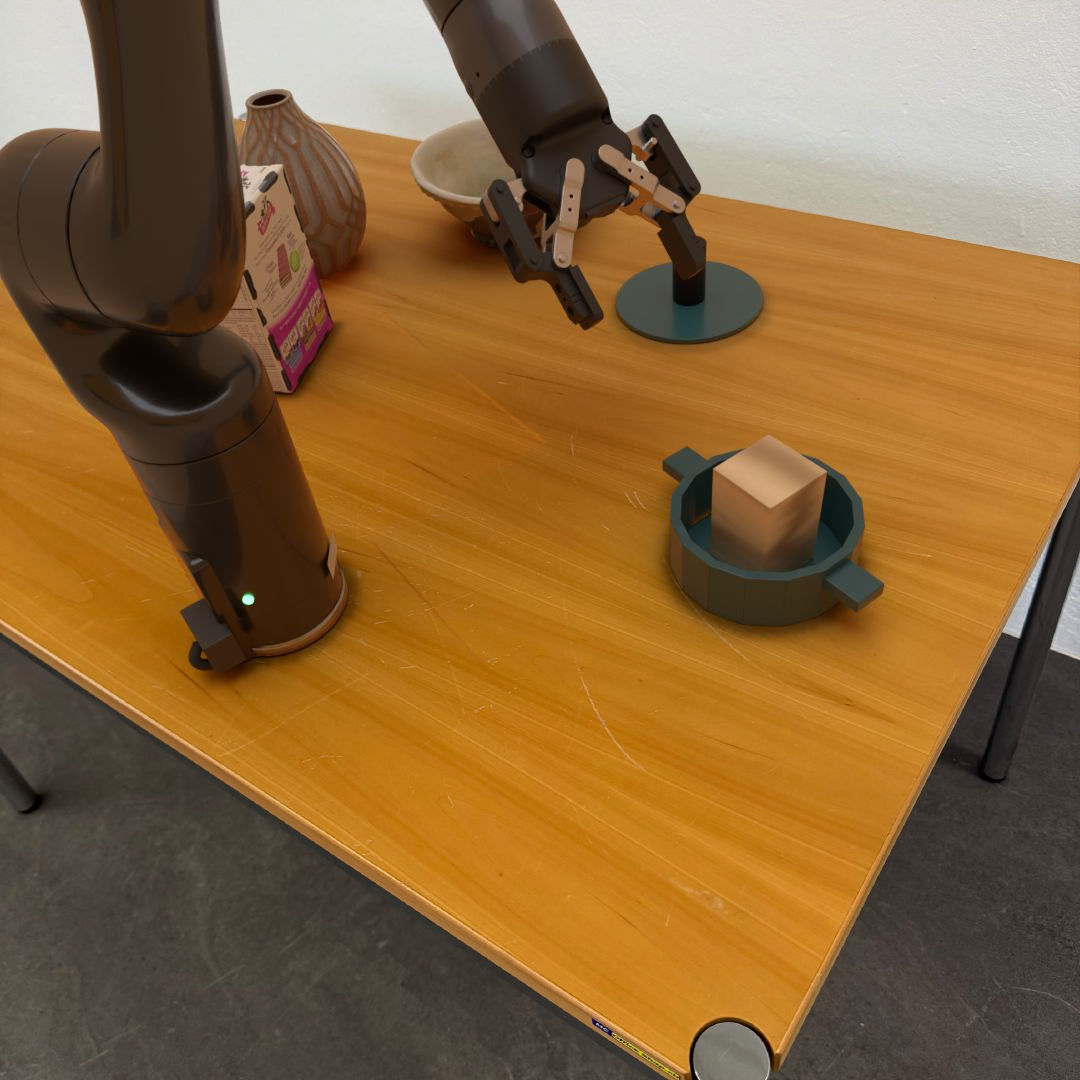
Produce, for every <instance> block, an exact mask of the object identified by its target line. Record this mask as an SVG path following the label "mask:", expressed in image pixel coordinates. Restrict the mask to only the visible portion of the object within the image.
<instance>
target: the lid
mask: <svg viewBox="0 0 1080 1080" xmlns="http://www.w3.org/2000/svg"><path fill="white" fill-rule="evenodd" d="M696 237H697V238H698V240H699V242H700V243H701V245H702V247H703V249H704V254H705V258H704V259H703V260H704V263H705V266H704V268H703V269H702V270H701V271H700V272H698V273H697V274H696V275H694V276H692V277H691V278H689V279H687V280H683V279H682V278H681V277H680V276H679V274H678V272H677V270H676V268H675V266H674V265H673V263H672V261H669V262H664V263H660V264H656V265H653V266H651V267H647V268H645V269H643V270H641V271H639V272H637V273H635V274H633V276H631V277H630V278H628V280H626V281H625V282H624V283H622V285H621V287H620V288H619V290H618V291H617V294H616V298H615V308H616V309H615V310H616V313H617V316H618V318H619V319H620V321H621V322H622V323H623V324H624V326H626V328H628V329H630V330H631V331H632V332H634V333H636V334H638V335H640V336H642V337H644V338H647V339H650V340H654V341H656V342H657V341H658V342H662V343H668V344H677V345H678V344H679V345H680V344H681V345H689V344H693V345H694V344H701V343H709V342H715V341H719V340H723V339H726V338H728V337H730V336H733V335H736V334H737V333H740V332H741V331H743V330H744V329H746V328H747V327H749V326H750V325H751V324H753V323H754V321H756V319H757V318H759V315H760V313H761V311H762V308H763V304H764V293H763V290H762V287H761V285H760V284H759V283H758V281H757V280H756V279H755V278H754V277H753V276H751V275H750V274H749V273H748V272H745V271H743V270H742V269H740V268H738V267H735V266H734V265H733V266H732V265H730V264H727V263H722V262H719V261H711V260H707V245H708V243H707V241H706V240H707V239H705V238H704V237H703V236H700V235H696Z"/></svg>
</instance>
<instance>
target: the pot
mask: <svg viewBox="0 0 1080 1080" xmlns="http://www.w3.org/2000/svg"><path fill="white" fill-rule="evenodd" d="M746 448H747V447H745V448H739V449H737V450H732V451H729V452H728V451H727V452H724V453H719V454H715V455H713V456H711V457H710V458H708V459H707V458H705V457H704V456H703V455H701V454H699V453H698V452H697V451H696V450H694V449H692V448H691V447H689V446H688V445H686V446H684V447H682V448H681V449H679V450H678V451H675V452H674V453H672V454H670V455H669V456H667V457H666V458H664V459H662V471H663V472H664V473H665V474H667V475H668V476H670V477H671V478H672V479H674V480H675V481H676V482H677V483H678V485H677V486H676V488H675V489H674V490H673V492H672V493H671V499H670V500H671V501H670V511H669V565H670V567H671V570H672V572H673V574H674V577H675V579H676V581H677V583H678V584H679V586H680V589H681V590H682V591H683V592H684V594H686V595H687V596H688V597H689V598H690V599H692V601H693V602H695V603H696V604H697V605H699V606H700V607H701V608H703V609H704V610H705V611H706V612H709V613H711V614H713V615H715V616H718V617H720V618H722V619H724V620H728V621H731V622H734V623H738V624H741V625H747V626H755V627H756V626H757V627H785V626H789V625H794V624H800V623H802V622H806V621H809V620H811V619H815V618H818V617H819V616H821V615H823V614H824V613H825V612H827V611H829V610H830V609H831V608H833V606H835V605H836V604H837V603H839V602H840V603H842V604H843V605H845V606H846V607H848V609H850V610H852V611H853V612H854V613H856V614H857V613H859V612H860V611H861V610H863V609H864V608H866V607H867V606H869V604H871V603H872V602H873V601H875V600H876V599H878V598H880V596H882V595H883V593H884V589H885V583H884V582H883V581H881V580H880V579H879V578H877V577H876V576H875V575H873V574H872V573H870V572H869V571H867V570H866V569H864V568H863V567H861V566H860V565H859V558H860V554H861V549H862V544H863V539H864V534H865V531H866V530H865V529H866V522H865V521H866V520H865V512H864V504H863V499H862V498H861V496H860V495H859V494H858V492H857V491H856V489H855V488H854V486H853V485H852V484H851V482H850V481H849V479H848V478H847V477H846V476H845V474H842V473H841V472H839V471H838V470H836V469H835V468H833V467H831V466H829V465H828V464H827V463H825V462H823V461H822V460H821V459H819V458H816V457H813V456H809V455H806V454H802V453H800V454H801V455H802V456H804V457H805V458H807V459H808V460H810V461H812V462H813V463H815V464H816V465H818V466H819V467H821V468H822V469H824V470H826V471H827V475H826V481H825V488H824V494H823V500H822V507H821V513H820V520H819V526H818V533H817V539H816V545H815V552H814V558H813V559H811V560H810V561H808V562H807V563H806V564H804V565H803V566H801V567H800V568H798V569H796V570H793V571H789V572H766V571H747V570H744V569H741V568H738V567H735V566H733V565H730V564H727V563H724V562H721V561H719V560H717V559H716V558H715V557H713V556H712V555H711V554H710V536H711V513H709V512H711V511H712V487H713V468H715V467H716V466H718V465H720V464H721V463H723V462H725V461H726V460H728V459H729V458H731V457H733V456H734V455H736V454H738V453H739V452H741V451H742V450H744V449H746ZM707 513H709V514H708V515H706V514H707ZM705 515H706V516H705ZM702 516H704V517H703V518H701V517H702ZM700 518H701V519H700ZM698 519H700V520H699V521H697V522H695V521H696V520H698ZM694 522H695V523H694Z"/></svg>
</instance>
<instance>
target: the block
mask: <svg viewBox="0 0 1080 1080" xmlns="http://www.w3.org/2000/svg"><path fill="white" fill-rule="evenodd" d="M745 448H746V449H744V448H743V449H744V450H742V451H741V452H739V453H738V454H736V455H734V456H733V457H731V458H729V459H728V460H726V461H725V462H723V463H721V464H720V465H718V466H716V467H715V468H713V487H712V510H710V514H711V536H710V554H711V555H712V556H713V557H715V558H716V559H717V560H719V561H721V562H724V563H727V564H730V565H733V566H735V567H738V568H741V569H744V570H747V571H766V572H789V571H793V570H796V569H798V568H800V567H801V566H803V565H804V564H806V563H807V562H808V561H810V560H811V559H813V558H814V552H815V545H816V539H817V533H818V526H819V520H820V513H821V507H822V500H823V494H824V488H825V481H826V475H827V471H826V470H824V469H822V468H821V467H819V466H818V465H816V464H815V463H813V462H812V461H810V460H808V459H807V458H805V457H804V456H802V455H801V454H802V453H800V452H798V451H796V450H794V449H792V448H791V447H790V446H788V445H787V444H785V443H784V442H782V441H781V440H778V439H777V438H776V437H774V436H772V435H770V434H767V435H765V436H763V437H762V438H760V439H758V440H757V441H755V442H754V443H752V444H750V445H749V446H748V447H745Z"/></svg>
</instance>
